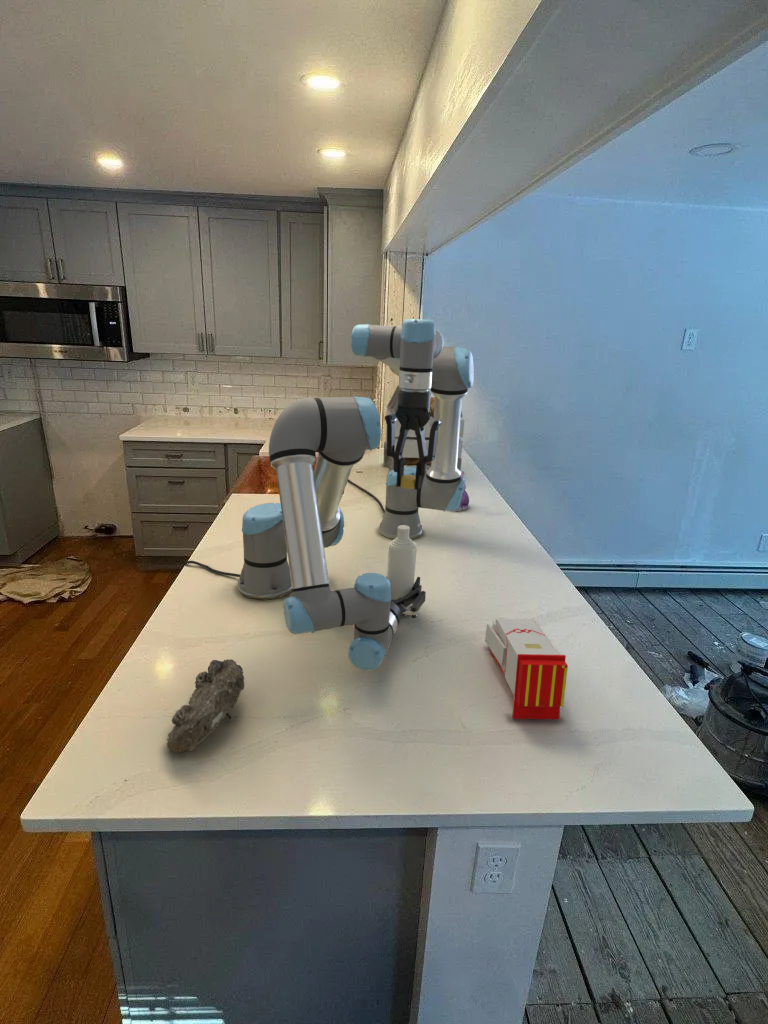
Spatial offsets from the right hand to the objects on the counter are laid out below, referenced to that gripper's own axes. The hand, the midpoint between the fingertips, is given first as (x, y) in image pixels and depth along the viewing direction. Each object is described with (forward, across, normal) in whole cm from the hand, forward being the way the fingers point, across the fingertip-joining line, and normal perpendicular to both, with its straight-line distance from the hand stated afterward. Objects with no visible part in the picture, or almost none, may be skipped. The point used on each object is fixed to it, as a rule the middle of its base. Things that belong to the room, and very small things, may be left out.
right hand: (408, 486), depth 138 cm
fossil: (+34, -18, -55) cm, 67 cm away
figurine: (+34, -7, +87) cm, 93 cm away
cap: (-2, 0, 0) cm, 2 cm away
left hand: (+28, -1, +4) cm, 28 cm away
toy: (+34, +33, -17) cm, 50 cm away
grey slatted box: (+34, -37, +128) cm, 138 cm away
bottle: (+34, -1, 0) cm, 34 cm away
